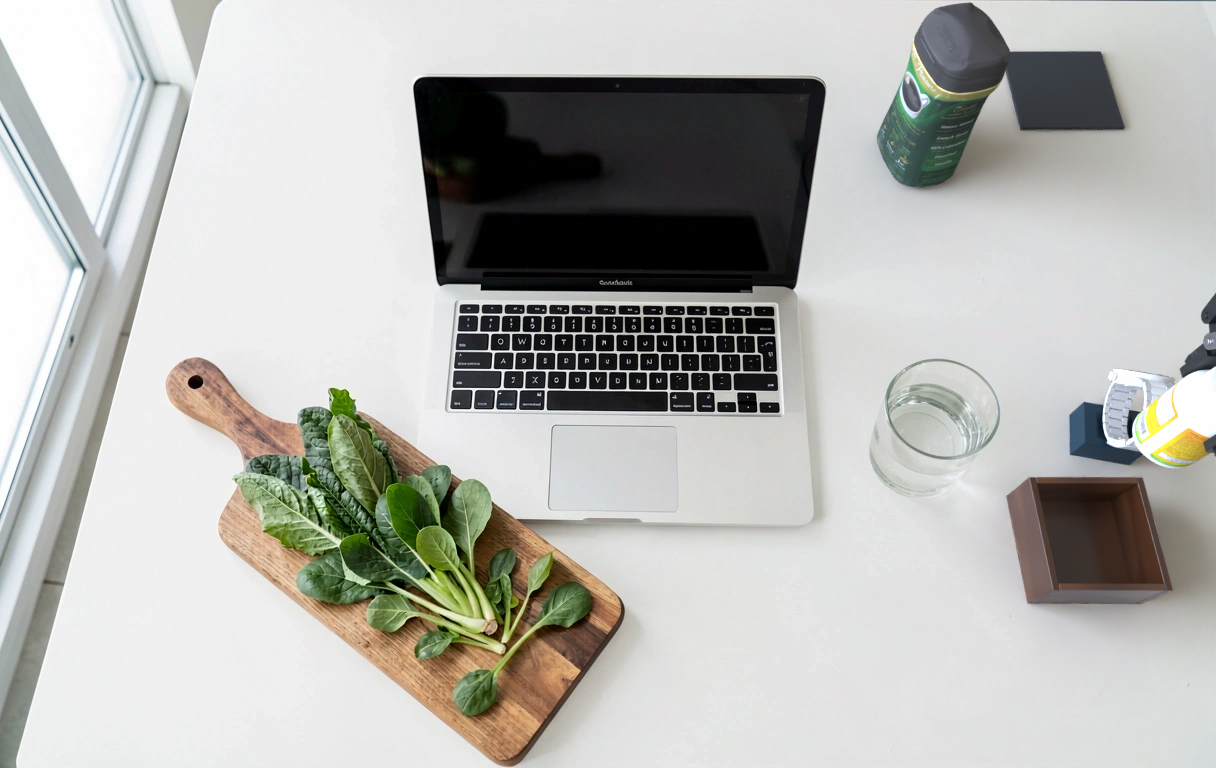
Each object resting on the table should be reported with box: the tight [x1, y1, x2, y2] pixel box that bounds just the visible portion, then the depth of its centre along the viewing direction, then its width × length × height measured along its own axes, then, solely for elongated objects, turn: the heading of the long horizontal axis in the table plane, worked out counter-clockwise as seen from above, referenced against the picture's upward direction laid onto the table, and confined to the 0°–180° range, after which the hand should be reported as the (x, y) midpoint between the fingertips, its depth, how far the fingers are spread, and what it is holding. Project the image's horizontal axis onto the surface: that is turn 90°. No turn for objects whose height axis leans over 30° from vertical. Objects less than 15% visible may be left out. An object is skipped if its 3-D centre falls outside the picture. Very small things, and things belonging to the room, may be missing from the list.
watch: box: [1068, 368, 1176, 466], centre depth 83 cm, size 6×8×11 cm
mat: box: [1005, 50, 1126, 131], centre depth 108 cm, size 12×12×1 cm
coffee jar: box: [876, 1, 1011, 188], centre depth 95 cm, size 10×8×19 cm
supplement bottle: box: [1132, 367, 1216, 469], centre depth 68 cm, size 5×5×10 cm
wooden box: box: [1006, 476, 1174, 605], centre depth 81 cm, size 10×10×5 cm
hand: (1204, 409), depth 67 cm, fingers closed on supplement bottle, 5 cm apart
